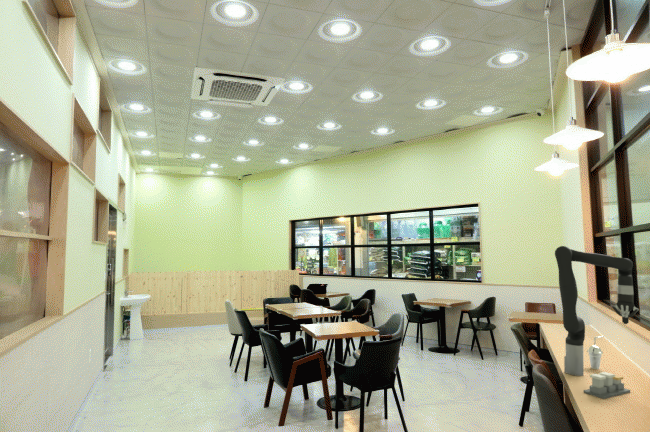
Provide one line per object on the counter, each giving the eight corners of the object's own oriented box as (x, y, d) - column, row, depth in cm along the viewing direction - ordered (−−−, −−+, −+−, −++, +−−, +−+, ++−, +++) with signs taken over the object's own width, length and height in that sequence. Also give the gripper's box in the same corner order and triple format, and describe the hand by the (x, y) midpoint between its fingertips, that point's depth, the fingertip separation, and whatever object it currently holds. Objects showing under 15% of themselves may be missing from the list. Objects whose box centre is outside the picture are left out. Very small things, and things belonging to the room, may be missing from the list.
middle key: (609, 387, 222) (609, 375, 222) (599, 384, 226) (599, 372, 227) (614, 386, 224) (614, 374, 224) (604, 383, 229) (604, 371, 229)
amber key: (618, 389, 225) (618, 378, 226) (608, 386, 230) (607, 375, 230) (623, 388, 228) (623, 376, 228) (613, 385, 232) (613, 374, 233)
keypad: (603, 399, 215) (603, 390, 215) (583, 392, 224) (583, 384, 224) (630, 392, 226) (630, 384, 226) (610, 386, 235) (610, 378, 235)
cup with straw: (587, 365, 276) (586, 333, 278) (604, 367, 272) (603, 335, 273) (587, 368, 269) (586, 335, 270) (604, 371, 265) (604, 337, 266)
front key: (600, 389, 218) (600, 377, 218) (590, 386, 222) (590, 374, 223) (605, 388, 220) (605, 376, 221) (595, 385, 225) (595, 373, 225)
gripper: (610, 292, 251) (610, 322, 250) (638, 294, 241) (638, 326, 240) (613, 291, 256) (613, 321, 255) (640, 294, 247) (640, 325, 246)
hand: (625, 323), depth 248 cm, fingers closed
